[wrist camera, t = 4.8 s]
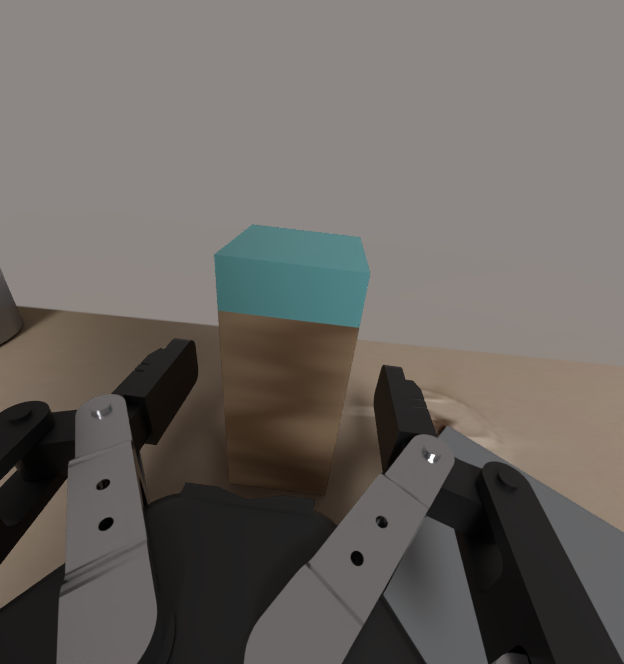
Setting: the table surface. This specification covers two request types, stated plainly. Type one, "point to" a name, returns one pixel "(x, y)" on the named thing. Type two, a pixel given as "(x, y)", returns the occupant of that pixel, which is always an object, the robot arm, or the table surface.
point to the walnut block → (287, 351)
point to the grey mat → (451, 584)
